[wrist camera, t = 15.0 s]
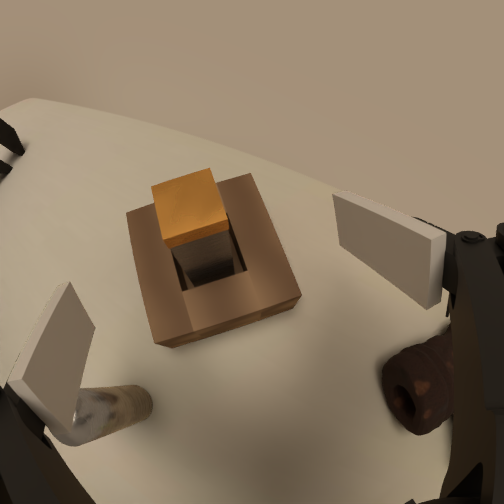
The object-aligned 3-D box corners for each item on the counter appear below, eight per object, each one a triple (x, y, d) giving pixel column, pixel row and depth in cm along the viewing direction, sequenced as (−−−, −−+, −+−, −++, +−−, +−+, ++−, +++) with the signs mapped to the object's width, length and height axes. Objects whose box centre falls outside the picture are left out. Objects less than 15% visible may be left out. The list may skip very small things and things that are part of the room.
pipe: (408, 344, 18) (475, 509, 10) (513, 270, 21) (567, 396, 13) (362, 372, 26) (415, 495, 19) (462, 311, 29) (508, 414, 21)
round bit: (111, 405, 23) (36, 416, 12) (129, 377, 24) (58, 376, 13) (140, 428, 22) (75, 457, 12) (159, 400, 23) (100, 418, 13)
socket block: (171, 348, 25) (154, 343, 20) (143, 237, 29) (125, 212, 24) (292, 308, 26) (301, 294, 22) (250, 202, 30) (250, 173, 25)
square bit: (197, 293, 26) (162, 240, 15) (187, 256, 27) (151, 186, 16) (236, 280, 26) (227, 219, 16) (224, 244, 27) (209, 167, 17)
